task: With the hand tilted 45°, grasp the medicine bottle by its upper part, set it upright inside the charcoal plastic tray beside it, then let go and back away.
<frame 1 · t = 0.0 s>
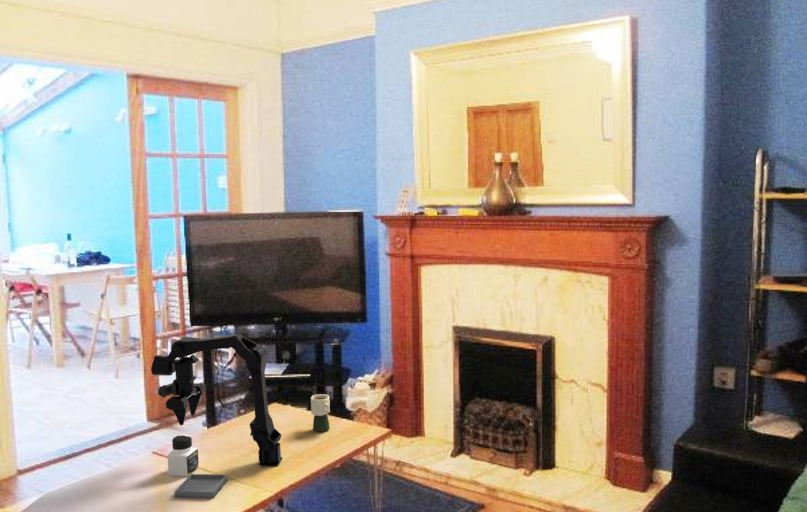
hand: (187, 420, 224), 15 cm above the table, tool pointing down, fingers open, 9 cm apart
tray: (202, 488, 204), on the table
medicine bottle: (184, 472, 217), on the table
character mug: (321, 430, 251), on the table
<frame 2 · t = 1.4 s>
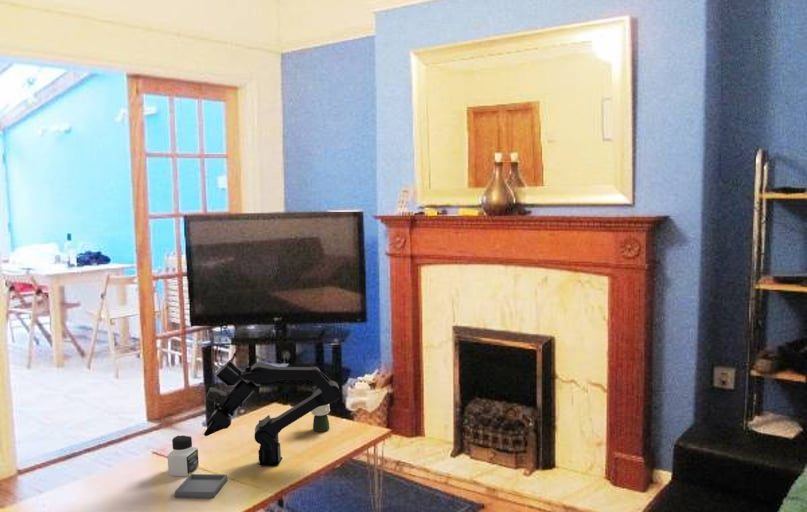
hand: (206, 430, 217), 13 cm above the table, tool tilted 45°, fingers open, 9 cm apart
nothing on the table moved.
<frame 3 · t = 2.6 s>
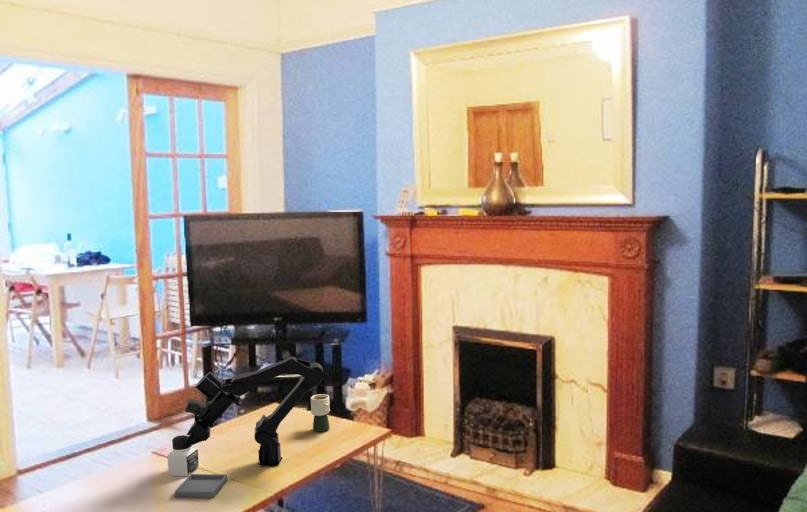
hand: (185, 441, 216), 10 cm above the table, tool tilted 45°, fingers open, 9 cm apart
nothing on the table moved.
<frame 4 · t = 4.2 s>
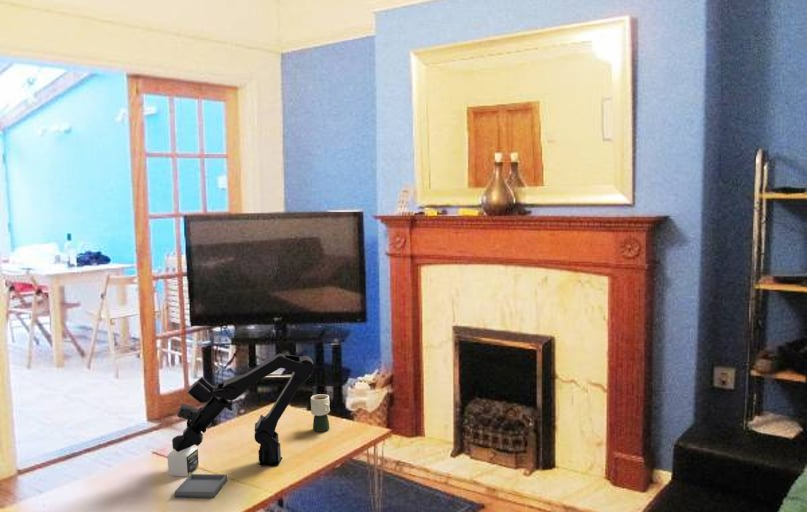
hand: (177, 447, 216), 9 cm above the table, tool tilted 45°, fingers closed on medicine bottle, 6 cm apart
medicine bottle: (183, 472, 217), on the table, touching gripper
everything else where it was.
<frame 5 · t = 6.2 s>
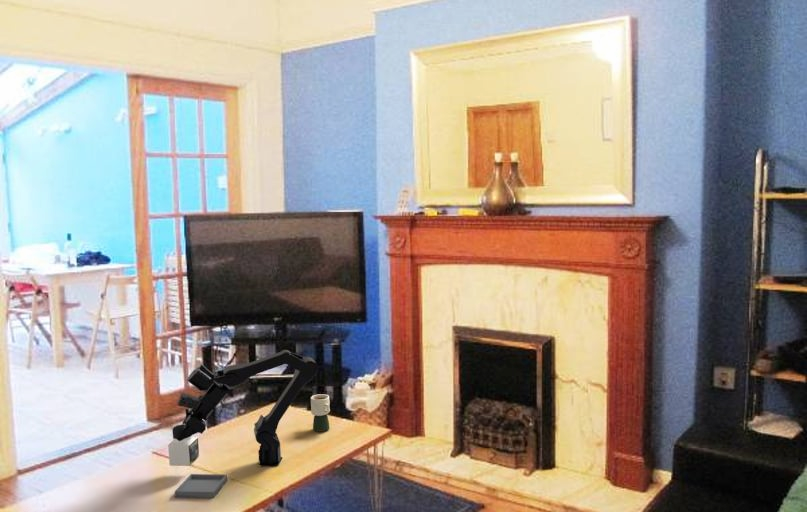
hand: (178, 436, 212), 13 cm above the table, tool tilted 45°, fingers closed on medicine bottle, 6 cm apart
medicine bottle: (184, 462, 214), point 4 cm above the table, touching gripper
everything else where it was.
when the fingers open (10 cm above the table, at t = 8.5 s): medicine bottle stays where it is, resting on tray.
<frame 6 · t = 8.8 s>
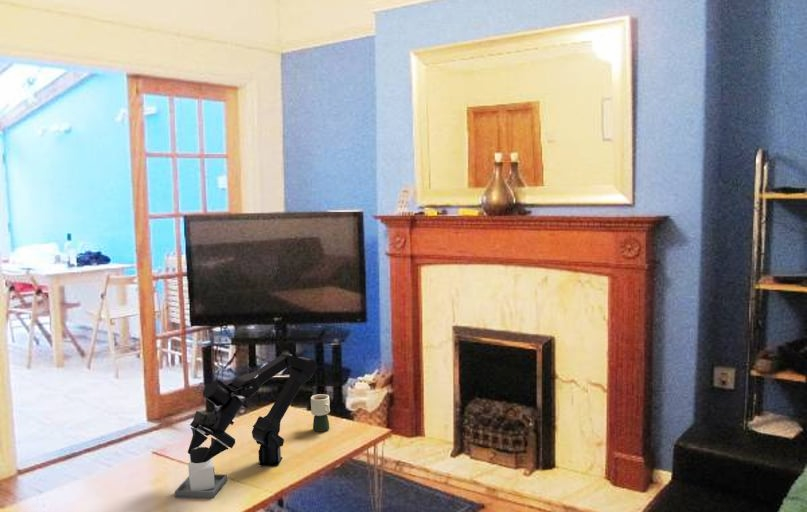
hand: (195, 457, 202), 11 cm above the table, tool tilted 45°, fingers open, 9 cm apart
medicine bottle: (202, 486, 204), point 1 cm above the table, touching tray
everything else where it was.
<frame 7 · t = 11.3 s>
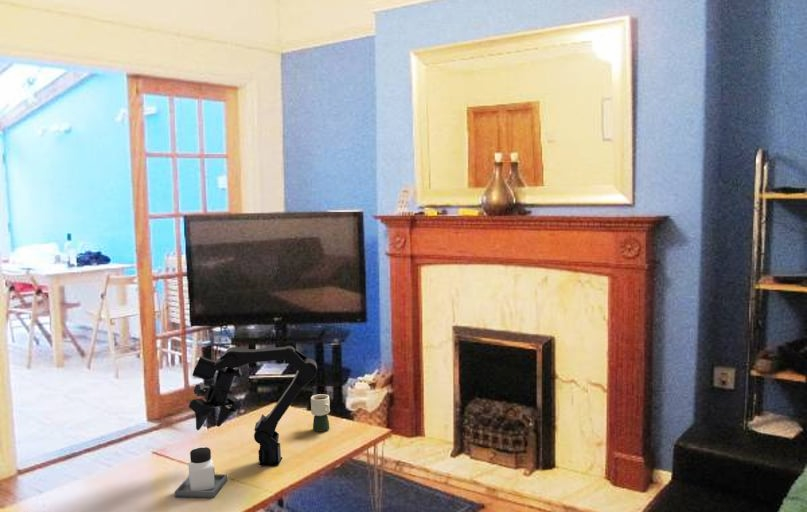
hand: (207, 427, 219), 14 cm above the table, tool tilted 20°, fingers open, 9 cm apart
nothing on the table moved.
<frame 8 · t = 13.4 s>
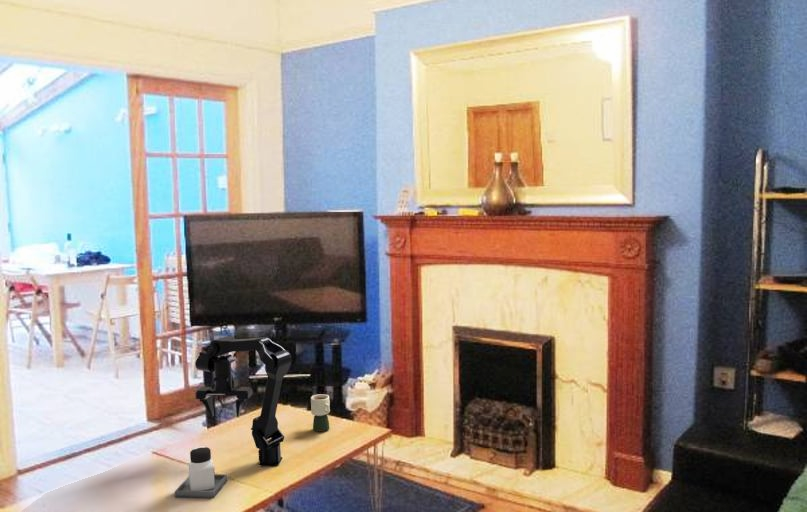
hand: (225, 416, 231), 13 cm above the table, tool pointing down, fingers open, 9 cm apart
nothing on the table moved.
at the end: medicine bottle 0.1 cm off-centre on the tray, point 0.6 cm above the tray's base; medicine bottle tilted 0°; the gripper is holding nothing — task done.
